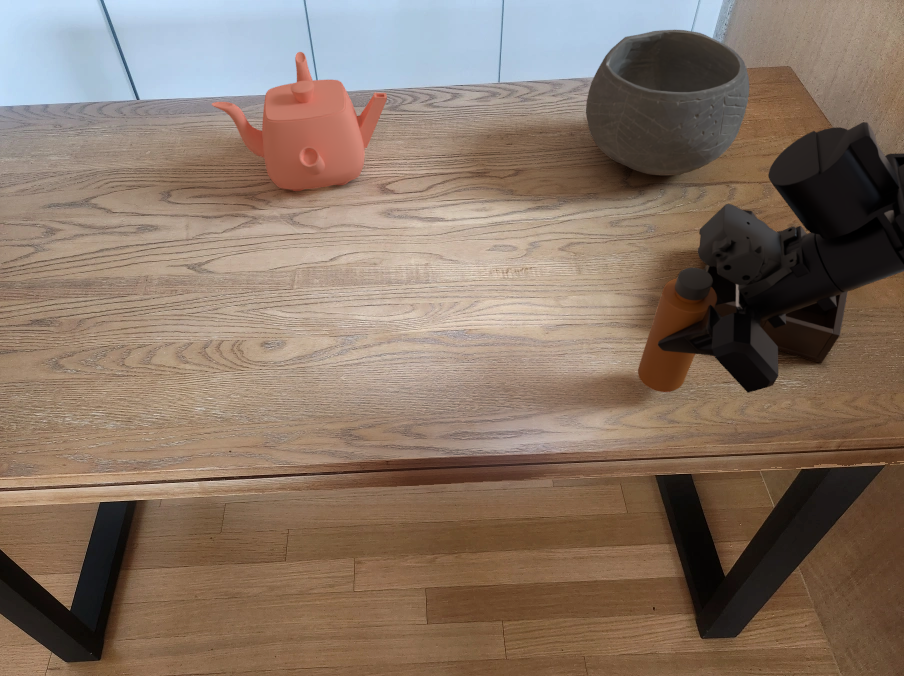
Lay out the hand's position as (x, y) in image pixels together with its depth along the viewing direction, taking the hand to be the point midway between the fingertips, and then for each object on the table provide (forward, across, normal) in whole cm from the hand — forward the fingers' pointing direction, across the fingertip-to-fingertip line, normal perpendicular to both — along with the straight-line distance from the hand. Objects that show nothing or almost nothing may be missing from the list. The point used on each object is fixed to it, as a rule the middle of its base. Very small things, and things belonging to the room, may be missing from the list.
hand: (662, 327), depth 66 cm
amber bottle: (+4, 0, +6) cm, 7 cm away
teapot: (+43, -30, -31) cm, 61 cm away
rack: (-2, -16, +15) cm, 22 cm away
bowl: (+9, -43, +4) cm, 44 cm away
